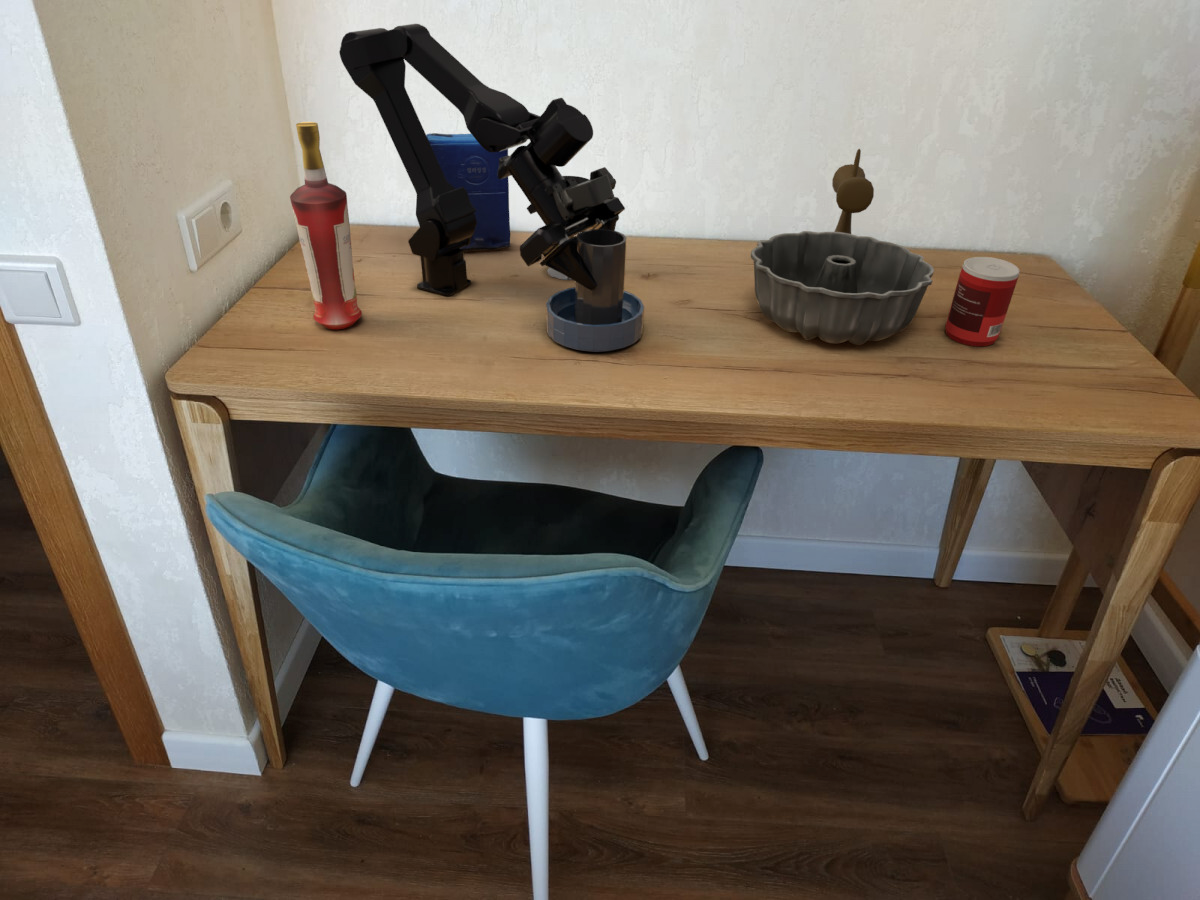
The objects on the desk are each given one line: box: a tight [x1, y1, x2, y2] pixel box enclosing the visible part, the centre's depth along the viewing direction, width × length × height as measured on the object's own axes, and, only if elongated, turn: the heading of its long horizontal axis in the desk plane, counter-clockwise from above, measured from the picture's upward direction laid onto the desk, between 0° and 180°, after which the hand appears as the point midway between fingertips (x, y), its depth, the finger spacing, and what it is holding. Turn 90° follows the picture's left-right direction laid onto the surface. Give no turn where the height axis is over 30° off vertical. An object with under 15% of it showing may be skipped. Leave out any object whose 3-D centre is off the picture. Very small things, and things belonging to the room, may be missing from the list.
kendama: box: [831, 148, 875, 234], centre depth 142 cm, size 6×10×20 cm, turn 173°
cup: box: [574, 229, 628, 325], centre depth 117 cm, size 7×7×12 cm
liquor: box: [289, 121, 363, 331], centre depth 115 cm, size 7×7×28 cm
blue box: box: [426, 132, 511, 253], centre depth 143 cm, size 14×5×20 cm, turn 102°
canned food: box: [945, 256, 1021, 347], centre depth 122 cm, size 8×8×11 cm
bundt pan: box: [750, 230, 935, 346], centre depth 125 cm, size 26×26×10 cm
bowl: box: [545, 286, 645, 353], centre depth 121 cm, size 14×14×4 cm
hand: (608, 280), depth 116 cm, fingers closed on cup, 7 cm apart
